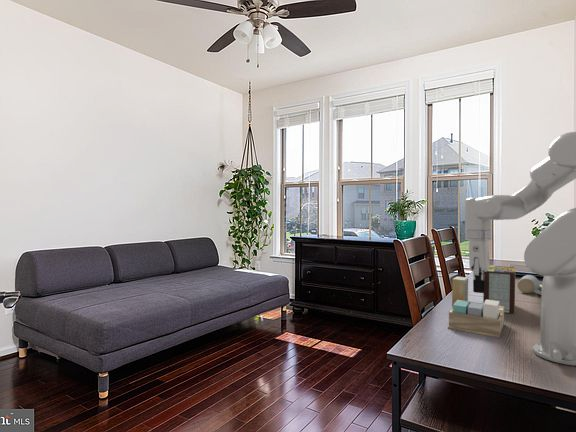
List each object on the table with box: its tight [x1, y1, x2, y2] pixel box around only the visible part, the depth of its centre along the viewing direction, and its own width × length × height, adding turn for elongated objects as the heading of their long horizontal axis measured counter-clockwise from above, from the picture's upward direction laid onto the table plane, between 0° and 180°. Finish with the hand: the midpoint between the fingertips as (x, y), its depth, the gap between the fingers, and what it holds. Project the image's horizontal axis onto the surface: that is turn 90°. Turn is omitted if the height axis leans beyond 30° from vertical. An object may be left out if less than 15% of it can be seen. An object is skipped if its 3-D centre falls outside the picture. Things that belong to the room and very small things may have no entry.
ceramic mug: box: [516, 274, 542, 296], centre depth 168 cm, size 11×8×8 cm
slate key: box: [468, 301, 483, 317], centre depth 119 cm, size 7×4×5 cm, turn 145°
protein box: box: [482, 265, 516, 315], centre depth 143 cm, size 10×15×16 cm
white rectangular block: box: [483, 299, 499, 319], centre depth 116 cm, size 7×4×5 cm, turn 145°
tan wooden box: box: [447, 300, 505, 339], centre depth 121 cm, size 16×15×6 cm
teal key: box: [453, 301, 470, 315], centre depth 122 cm, size 7×4×5 cm, turn 145°
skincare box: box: [451, 276, 469, 309], centre depth 140 cm, size 6×4×12 cm
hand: (479, 292), depth 118 cm, fingers closed
